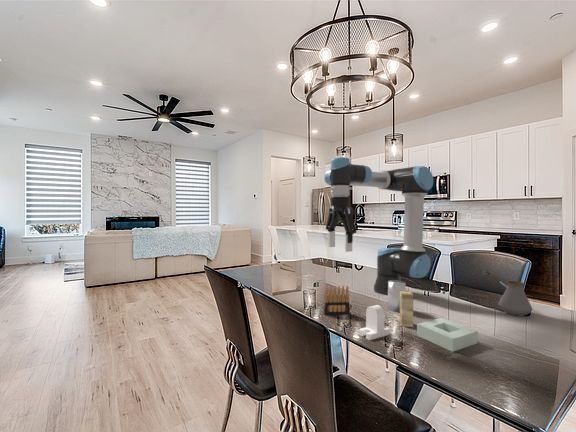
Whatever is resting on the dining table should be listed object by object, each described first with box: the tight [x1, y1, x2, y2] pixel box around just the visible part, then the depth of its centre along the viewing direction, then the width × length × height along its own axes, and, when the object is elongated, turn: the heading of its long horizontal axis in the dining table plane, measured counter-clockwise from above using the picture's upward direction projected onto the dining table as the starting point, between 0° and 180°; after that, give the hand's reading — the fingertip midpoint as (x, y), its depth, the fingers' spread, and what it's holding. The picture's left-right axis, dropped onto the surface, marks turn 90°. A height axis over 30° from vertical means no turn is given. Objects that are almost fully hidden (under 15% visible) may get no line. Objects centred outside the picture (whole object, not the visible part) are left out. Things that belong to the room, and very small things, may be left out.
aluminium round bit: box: [387, 280, 406, 313], centre depth 128 cm, size 7×7×12 cm
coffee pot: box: [483, 269, 533, 317], centre depth 128 cm, size 21×12×15 cm, turn 11°
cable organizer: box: [358, 304, 391, 341], centre depth 102 cm, size 5×10×10 cm, turn 119°
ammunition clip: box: [323, 284, 351, 316], centre depth 122 cm, size 11×2×12 cm, turn 93°
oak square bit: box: [399, 291, 414, 328], centre depth 111 cm, size 4×4×12 cm
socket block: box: [416, 317, 479, 353], centre depth 98 cm, size 13×13×4 cm
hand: (339, 249), depth 118 cm, fingers open, 13 cm apart
